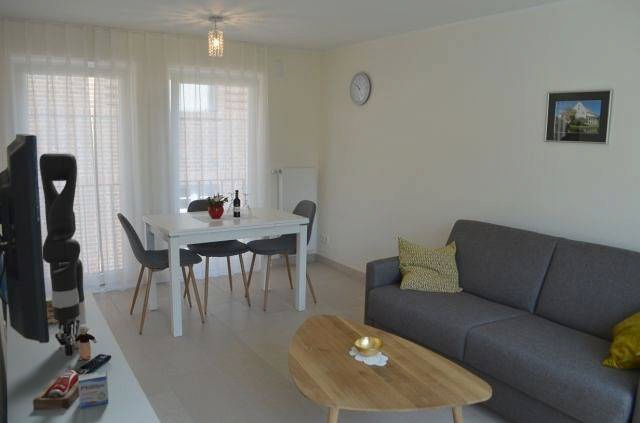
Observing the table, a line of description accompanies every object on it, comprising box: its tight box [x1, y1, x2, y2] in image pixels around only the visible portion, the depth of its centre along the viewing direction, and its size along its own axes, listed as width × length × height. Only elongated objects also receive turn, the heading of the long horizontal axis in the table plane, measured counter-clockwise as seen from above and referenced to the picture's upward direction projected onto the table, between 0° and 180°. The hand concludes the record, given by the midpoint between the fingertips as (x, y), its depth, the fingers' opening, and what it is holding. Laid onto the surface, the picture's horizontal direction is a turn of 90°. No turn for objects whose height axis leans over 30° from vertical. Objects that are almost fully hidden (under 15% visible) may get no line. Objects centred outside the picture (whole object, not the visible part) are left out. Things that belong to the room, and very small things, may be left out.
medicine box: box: [78, 370, 109, 409], centre depth 154 cm, size 8×4×9 cm, turn 114°
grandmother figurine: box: [74, 324, 98, 361], centre depth 183 cm, size 8×4×13 cm, turn 111°
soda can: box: [48, 370, 79, 398], centre depth 158 cm, size 5×5×12 cm
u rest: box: [32, 375, 79, 411], centre depth 157 cm, size 15×10×3 cm
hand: (70, 354), depth 163 cm, fingers closed
